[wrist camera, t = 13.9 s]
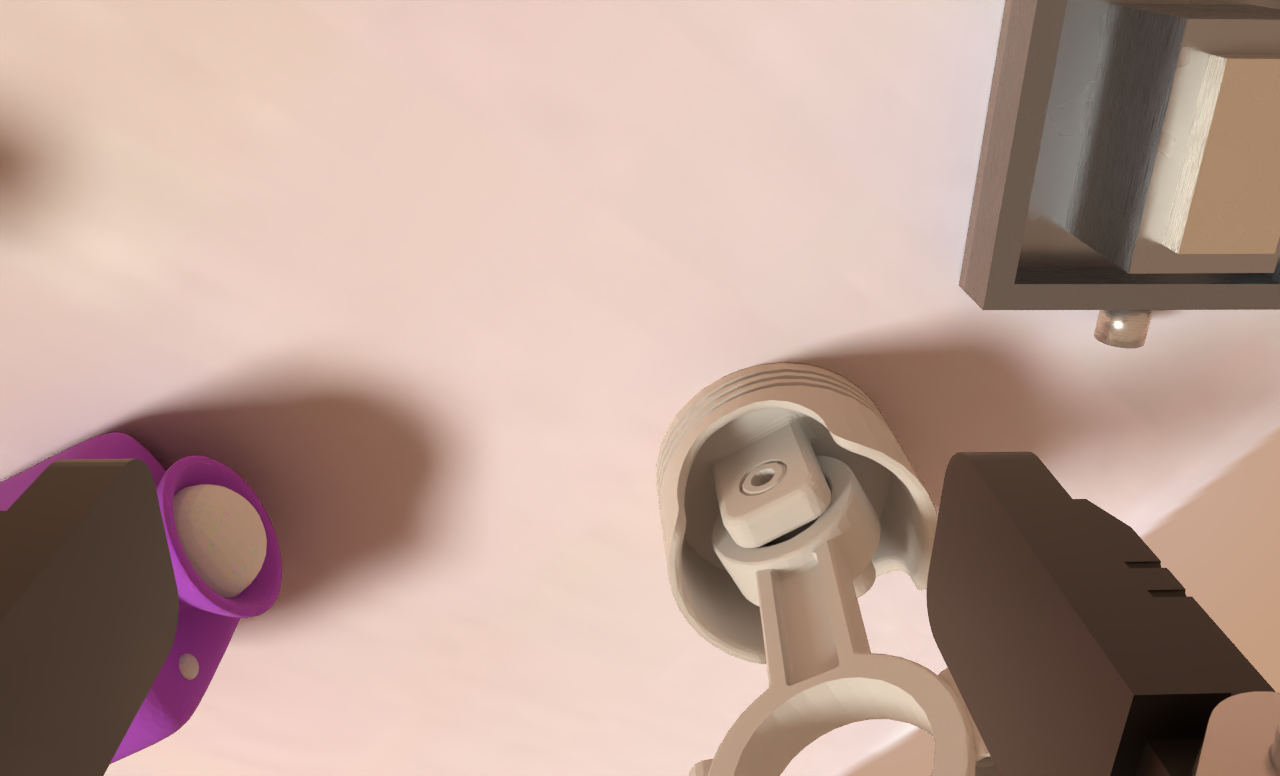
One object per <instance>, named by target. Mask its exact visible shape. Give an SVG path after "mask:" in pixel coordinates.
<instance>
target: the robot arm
mask: <svg viewBox="0 0 1280 776" xmlns="http://www.w3.org/2000/svg"><path fill="white" fill-rule="evenodd" d="M1160 562H1161V561H1160V560H1159V559H1158V558H1157V556H1156V555H1155V554H1154V553H1153V552H1152V551H1151V550H1150V548H1149V547H1148V546H1147V545H1146V544H1145V543H1144V542H1143V540H1142V539H1141V538H1140V537H1139V536H1138V535H1137V534H1136V532H1135V531H1134V530H1133V529H1132V528H1131V527H1130V526H1128V525H1126V524H1125V523H1123V522H1122V521H1120V520H1118V519H1117V518H1115V517H1114V516H1112V515H1110V514H1109V513H1107V512H1106V511H1104V510H1102V509H1101V508H1099V507H1098V506H1096V505H1094V504H1093V503H1091V502H1090V501H1088V500H1087V499H1072V498H1071V497H1070V496H1069V494H1068V493H1067V492H1066V491H1065V489H1064V488H1063V487H1062V486H1061V485H1060V483H1059V482H1058V481H1057V480H1056V478H1055V477H1054V476H1053V475H1052V474H1051V472H1050V471H1049V470H1048V469H1047V468H1046V466H1045V465H1044V464H1043V463H1042V461H1041V460H1040V459H1039V458H1038V457H1037V456H1036V455H1035V454H1033V453H1031V452H961V453H956V454H955V455H954V456H953V457H952V458H951V460H950V462H949V464H948V467H947V470H946V474H945V479H944V485H943V490H942V496H941V502H940V508H939V514H938V520H937V525H936V531H935V537H934V543H933V549H932V555H931V560H930V566H929V572H928V579H927V609H928V616H929V622H930V626H931V630H932V633H933V637H934V639H935V641H936V644H937V646H938V648H939V650H940V652H941V654H942V656H943V658H944V660H945V662H946V664H947V666H948V669H949V671H950V673H951V675H952V677H953V679H954V681H955V683H956V685H957V687H958V689H959V691H960V694H961V696H962V698H963V700H964V702H965V704H966V706H967V708H968V710H969V712H970V714H971V716H972V718H973V721H974V723H975V725H976V727H977V729H978V731H979V733H980V735H981V737H982V739H983V741H984V743H985V746H986V748H987V750H988V752H989V754H990V756H991V758H992V760H993V762H994V764H995V766H996V768H997V771H998V773H999V775H1000V776H1280V693H1278V692H1275V691H1274V690H1273V688H1272V687H1271V686H1270V685H1269V684H1268V683H1267V682H1266V680H1264V678H1263V677H1262V676H1261V675H1260V674H1259V672H1257V670H1256V669H1255V668H1254V667H1253V666H1252V665H1251V663H1250V662H1249V661H1248V660H1247V659H1246V658H1245V657H1244V656H1243V654H1242V653H1241V652H1240V651H1239V650H1238V649H1237V647H1236V646H1235V645H1234V644H1233V643H1232V642H1231V641H1230V639H1229V638H1228V637H1227V636H1226V635H1225V634H1224V633H1223V631H1222V630H1221V629H1220V628H1219V627H1218V626H1217V625H1216V623H1215V622H1214V621H1213V620H1212V619H1211V618H1210V617H1209V616H1208V615H1207V613H1206V612H1205V611H1204V610H1203V609H1202V608H1201V606H1200V605H1199V604H1198V603H1197V602H1196V601H1195V600H1194V598H1193V597H1186V594H1185V588H1184V587H1183V586H1182V585H1181V584H1180V583H1179V581H1178V580H1177V579H1176V578H1175V577H1174V576H1173V575H1172V573H1171V572H1170V571H1169V570H1168V569H1167V568H1161V565H1160ZM178 613H179V599H178V590H177V584H176V580H175V575H174V570H173V566H172V561H171V556H170V552H169V547H168V542H167V538H166V533H165V529H164V524H163V519H162V515H161V510H160V505H159V501H158V496H157V491H156V487H155V483H154V479H153V476H152V473H151V471H150V469H149V467H148V466H147V465H146V464H145V462H143V461H142V460H140V459H62V460H56V461H54V462H52V463H51V464H50V465H49V466H48V467H47V468H46V469H45V470H44V471H43V472H42V473H41V474H40V475H39V476H38V477H37V478H36V480H35V481H34V482H33V483H32V484H31V485H30V486H29V487H28V488H27V489H26V490H25V491H24V492H23V494H22V495H21V496H20V497H19V498H18V499H17V500H16V501H15V502H14V503H13V504H12V505H11V506H10V507H9V509H8V510H7V511H0V776H103V775H104V773H105V772H106V770H107V768H108V766H109V764H110V762H111V760H112V759H113V757H114V755H115V753H116V751H117V749H118V748H119V746H120V744H121V742H122V740H123V738H124V736H125V735H126V733H127V731H128V729H129V727H130V725H131V724H132V722H133V720H134V718H135V716H136V714H137V712H138V711H139V709H140V707H141V705H142V703H143V701H144V699H145V698H146V696H147V694H148V692H149V690H150V688H151V687H152V685H153V683H154V681H155V679H156V677H157V675H158V674H159V672H160V670H161V668H162V666H163V664H164V663H165V661H166V659H167V657H168V655H169V653H170V651H171V648H172V645H173V642H174V639H175V635H176V630H177V624H178Z"/></svg>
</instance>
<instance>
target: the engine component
mask: <svg viewBox="0 0 1280 776" xmlns="http://www.w3.org/2000/svg"><path fill="white" fill-rule="evenodd" d="M657 492H658V499H659V506H660V515H661V522H662V530H663V537H664V545H665V552H666V560H667V567H668V575H669V581H670V585H671V589H672V593H673V596H674V598H675V600H676V603H677V605H678V607H679V610H680V611H681V613H682V614H683V616H684V617H685V619H686V620H687V621H688V623H689V624H690V625H691V626H692V627H693V628H694V629H695V630H696V632H697V633H698V634H699V635H700V636H701V637H703V638H704V639H705V640H707V641H708V642H709V643H711V644H712V645H713V646H715V647H717V648H719V649H720V650H722V651H724V652H726V653H728V654H729V655H732V656H735V657H738V658H740V659H743V660H746V661H749V662H754V663H759V664H766V663H767V670H768V678H769V689H768V690H766V691H765V692H764V693H763V694H762V695H761V696H760V697H758V698H757V699H756V700H755V701H754V702H753V703H752V704H751V705H750V706H749V707H748V708H747V709H746V710H745V711H744V712H743V713H742V714H741V715H740V717H739V718H738V719H737V721H736V722H735V723H734V725H733V726H732V727H731V728H730V730H729V731H728V733H727V735H726V736H725V738H724V740H723V741H722V743H721V744H720V746H719V748H718V750H717V752H716V754H715V757H714V759H709V760H704V761H701V762H699V763H697V764H695V765H694V766H693V768H692V769H691V770H690V771H689V776H780V774H781V773H782V772H783V770H784V769H785V768H786V766H787V765H788V764H789V763H790V761H791V760H792V759H793V758H794V757H795V756H796V755H797V754H798V753H799V752H800V751H801V750H802V749H803V748H805V747H806V746H807V745H809V744H810V743H811V742H813V741H814V740H816V739H817V738H818V737H820V736H822V735H824V734H826V733H827V732H829V731H831V730H833V729H835V728H838V727H841V726H844V725H847V724H850V723H852V722H857V721H863V720H869V719H891V720H896V721H901V722H906V723H911V724H913V725H915V726H917V727H919V728H921V729H924V730H925V731H927V732H928V733H930V734H931V735H932V736H934V741H935V749H934V764H933V770H932V773H931V776H1000V775H999V773H998V771H997V768H996V766H995V764H994V762H993V760H992V758H991V756H990V754H989V752H988V750H987V748H986V746H985V743H984V741H983V739H982V737H981V735H980V733H979V731H978V729H977V727H976V725H975V723H974V721H973V718H972V716H971V714H970V712H969V710H968V708H967V706H966V704H965V702H964V700H963V698H962V696H961V694H960V691H959V689H958V687H957V685H956V683H955V681H954V679H953V677H952V675H951V673H950V671H949V669H948V668H947V669H945V670H943V671H942V672H941V673H940V674H939V675H936V674H935V673H934V672H932V671H931V670H929V669H928V668H926V667H924V666H922V665H920V664H918V663H915V662H913V661H910V660H907V659H904V658H902V657H896V656H891V655H886V654H873V653H871V651H870V647H869V644H868V640H867V636H866V632H865V628H864V624H863V620H862V616H861V612H860V608H859V604H858V600H857V598H858V597H860V596H862V595H863V594H865V593H866V592H867V591H868V590H869V589H870V588H871V587H872V585H873V583H874V581H875V578H876V576H879V575H881V574H883V573H886V572H890V571H903V572H905V573H907V574H908V575H909V576H910V577H911V579H912V580H913V582H914V584H915V586H916V588H917V589H919V590H921V591H922V590H924V589H926V588H927V579H928V572H929V566H930V560H931V555H932V549H933V543H934V537H935V531H936V525H937V520H938V517H937V514H936V510H935V507H934V505H933V503H932V501H931V499H930V497H929V495H928V493H927V491H926V489H925V488H924V486H923V484H922V482H921V481H920V479H919V477H918V476H917V474H916V472H915V471H914V469H913V467H912V465H911V464H910V462H909V460H908V459H907V457H906V455H905V454H904V452H903V450H902V448H901V447H900V445H899V443H898V442H897V440H896V438H895V436H894V435H893V433H892V432H891V430H890V428H889V427H888V425H887V423H886V421H885V420H884V418H883V416H882V414H881V413H880V411H879V410H878V409H877V407H876V406H875V404H874V403H873V402H872V400H871V399H870V398H869V397H868V396H867V395H866V394H865V393H864V392H863V391H862V390H861V389H860V388H859V387H857V386H856V385H854V384H853V383H851V382H850V381H848V380H847V379H845V378H844V377H842V376H840V375H838V374H835V373H833V372H830V371H828V370H826V369H823V368H819V367H815V366H811V365H807V364H795V363H774V364H764V365H757V366H753V367H750V368H746V369H742V370H739V371H737V372H734V373H732V374H729V375H727V376H724V377H722V378H721V379H719V380H717V381H716V382H714V383H712V384H711V385H709V386H708V387H706V388H704V389H703V390H701V391H700V392H699V393H698V394H697V395H696V396H695V397H693V398H692V399H691V400H690V401H689V402H688V403H687V404H686V405H685V406H684V407H683V409H682V410H681V411H680V412H679V413H678V414H677V416H676V417H675V419H674V420H673V422H672V424H671V425H670V427H669V428H668V430H667V432H666V435H665V437H664V439H663V441H662V444H661V447H660V452H659V456H658V461H657Z"/></svg>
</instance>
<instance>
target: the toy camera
mask: <svg viewBox="0 0 1280 776" xmlns="http://www.w3.org/2000/svg"><path fill="white" fill-rule="evenodd" d="M62 459H140V460H142V461H143V462H145V464H146V465H147V466H148V467H149V469H150V471H151V473H152V476H153V479H154V483H155V487H156V491H157V496H158V501H159V505H160V510H161V515H162V519H163V524H164V529H165V533H166V538H167V542H168V547H169V552H170V556H171V561H172V566H173V570H174V575H175V580H176V584H177V590H178V599H179V613H178V624H177V630H176V635H175V639H174V642H173V645H172V648H171V651H170V653H169V655H168V657H167V659H166V661H165V663H164V664H163V666H162V668H161V670H160V672H159V674H158V675H157V677H156V679H155V681H154V683H153V685H152V687H151V688H150V690H149V692H148V694H147V696H146V698H145V699H144V701H143V703H142V705H141V707H140V709H139V711H138V712H137V714H136V716H135V718H134V720H133V722H132V724H131V725H130V727H129V729H128V731H127V733H126V735H125V736H124V738H123V740H122V742H121V744H120V746H119V748H118V749H117V751H116V753H115V755H114V757H113V759H112V760H111V762H110V764H111V763H113V762H116V761H118V760H120V759H122V758H125V757H127V756H129V755H131V754H133V753H136V752H138V751H140V750H142V749H144V748H147V747H149V746H151V745H153V744H155V743H157V742H159V741H161V740H163V739H165V738H166V737H168V736H170V735H172V734H173V733H175V732H176V731H177V730H179V729H180V728H181V727H182V726H183V725H184V724H185V723H186V722H187V721H188V720H189V719H190V717H191V716H192V714H193V713H194V711H195V710H196V708H197V706H198V705H199V703H200V701H201V699H202V697H203V696H204V694H205V692H206V690H207V688H208V686H209V684H210V682H211V680H212V678H213V676H214V674H215V672H216V669H217V667H218V665H219V663H220V661H221V659H222V657H223V655H224V653H225V651H226V649H227V647H228V644H229V642H230V640H231V638H232V635H233V633H234V631H235V629H236V626H237V624H238V622H239V620H240V618H248V617H253V616H257V615H260V614H262V613H264V612H265V611H267V610H268V609H269V608H270V607H271V606H272V605H273V604H274V602H275V601H276V599H277V597H278V594H279V591H280V587H281V579H282V564H281V554H280V550H279V545H278V541H277V538H276V534H275V531H274V528H273V526H272V523H271V521H270V518H269V516H268V514H267V512H266V510H265V508H264V507H263V505H262V503H261V501H260V500H259V498H258V497H257V495H256V494H255V492H254V491H253V490H252V488H251V487H250V486H249V485H248V484H247V483H246V482H245V481H244V480H243V479H242V478H241V477H240V476H239V475H238V474H237V473H236V472H235V471H233V470H232V469H231V468H229V467H228V466H226V465H224V464H222V463H221V462H219V461H216V460H214V459H212V458H209V457H205V456H199V455H194V456H187V457H184V458H181V459H179V460H177V461H176V462H175V463H174V464H173V465H171V466H170V467H169V468H168V469H167V471H166V470H165V469H164V468H163V467H162V465H161V464H160V463H159V462H158V461H157V460H156V459H155V458H154V457H153V455H152V454H151V453H150V452H149V451H148V450H147V449H146V448H145V447H144V446H143V445H142V444H141V443H139V442H138V441H137V440H135V439H134V438H133V437H131V436H129V435H127V434H124V433H118V432H115V433H107V434H103V435H100V436H96V437H93V438H91V439H89V440H86V441H84V442H81V443H79V444H77V445H75V446H73V447H71V448H69V449H67V450H65V451H63V452H61V453H59V454H57V455H55V456H53V457H51V458H49V459H47V460H45V461H43V462H41V463H39V464H37V465H35V466H33V467H31V468H29V469H27V470H25V471H23V472H21V473H19V474H17V475H15V476H13V477H11V478H9V479H7V480H5V481H3V482H1V483H0V511H7V510H8V509H9V507H10V506H11V505H12V504H13V503H14V502H15V501H16V500H17V499H18V498H19V497H20V496H21V495H22V494H23V492H24V491H25V490H26V489H27V488H28V487H29V486H30V485H31V484H32V483H33V482H34V481H35V480H36V478H37V477H38V476H39V475H40V474H41V473H42V472H43V471H44V470H45V469H46V468H47V467H48V466H49V465H50V464H51V463H52V462H54V461H56V460H62Z"/></svg>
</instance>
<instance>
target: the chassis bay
mask: <svg viewBox="0 0 1280 776" xmlns="http://www.w3.org/2000/svg"><path fill="white" fill-rule="evenodd" d="M1109 3H1125V4H1227V5H1255V6H1262V7H1268V8H1274V9H1280V0H1006V1H1005V7H1004V14H1003V20H1002V26H1001V32H1000V38H999V44H998V50H997V56H996V63H995V69H994V75H993V81H992V87H991V93H990V99H989V106H988V112H987V118H986V124H985V130H984V136H983V142H982V149H981V155H980V161H979V167H978V173H977V179H976V185H975V191H974V198H973V204H972V210H971V216H970V222H969V228H968V234H967V241H966V247H965V253H964V259H963V265H962V271H961V277H960V283H959V286H960V287H961V288H962V289H963V290H964V291H965V292H966V293H967V294H968V295H969V296H970V297H971V298H972V299H973V300H974V301H975V302H976V303H977V304H978V305H979V306H980V307H981V308H982V309H983V310H1100V311H1099V315H1098V320H1097V324H1096V328H1095V333H1094V337H1095V338H1096V339H1097V340H1098V341H1100V342H1102V343H1104V344H1107V345H1111V346H1115V347H1120V348H1138V347H1141V346H1143V345H1144V343H1145V339H1146V335H1147V331H1148V327H1149V324H1150V320H1151V316H1152V312H1153V310H1225V309H1280V254H1279V257H1278V261H1277V264H1276V268H1275V271H1274V273H1155V274H1129V273H1127V272H1126V271H1124V270H1123V269H1121V268H1120V267H1118V266H1117V265H1115V264H1114V263H1112V262H1111V261H1110V260H1108V259H1107V258H1105V257H1104V256H1102V255H1101V254H1099V253H1098V252H1096V251H1095V250H1093V249H1092V248H1091V247H1089V246H1088V245H1086V244H1085V243H1083V242H1082V241H1080V240H1079V239H1077V238H1076V237H1074V236H1073V235H1071V234H1070V233H1069V232H1067V231H1066V230H1064V229H1065V224H1066V219H1067V214H1068V209H1069V204H1070V199H1071V194H1072V189H1073V184H1074V179H1075V174H1076V169H1077V164H1078V159H1079V154H1080V149H1081V144H1082V138H1083V133H1084V128H1085V123H1086V118H1087V113H1088V108H1089V103H1090V98H1091V93H1092V88H1093V83H1094V78H1095V73H1096V68H1097V63H1098V58H1099V53H1100V48H1101V43H1102V38H1103V33H1104V28H1105V23H1106V18H1107V13H1108V8H1109Z"/></svg>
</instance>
